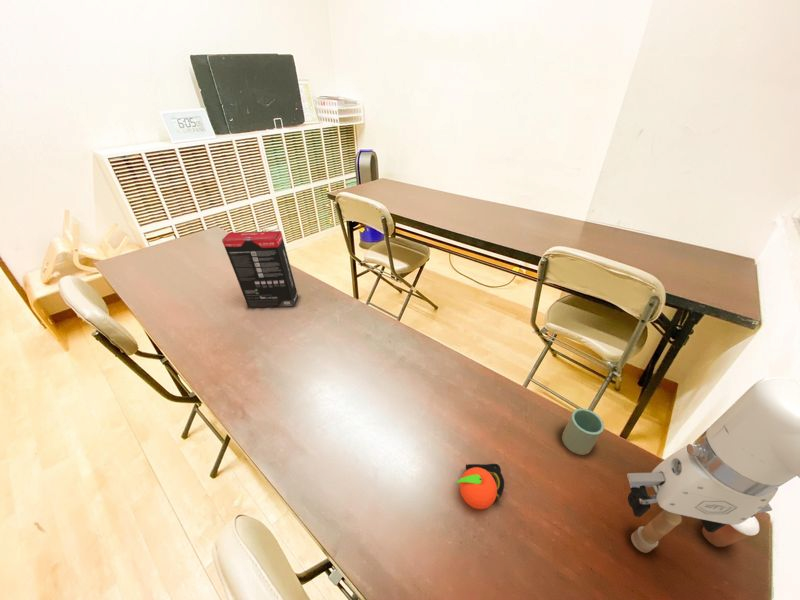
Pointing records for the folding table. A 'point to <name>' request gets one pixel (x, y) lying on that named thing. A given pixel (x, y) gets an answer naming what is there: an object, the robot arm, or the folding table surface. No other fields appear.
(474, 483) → the clementine
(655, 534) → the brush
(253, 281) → the graphics card box
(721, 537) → the milkshake
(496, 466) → the tape measure
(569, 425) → the cup
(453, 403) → the folding table surface
